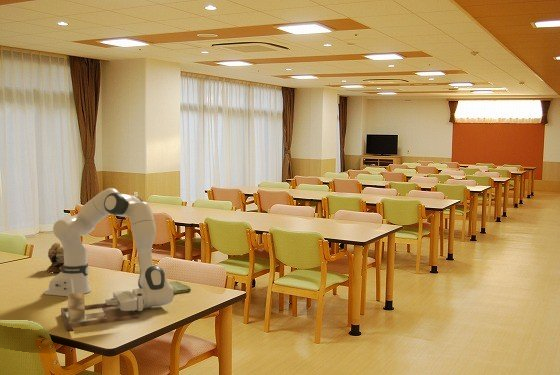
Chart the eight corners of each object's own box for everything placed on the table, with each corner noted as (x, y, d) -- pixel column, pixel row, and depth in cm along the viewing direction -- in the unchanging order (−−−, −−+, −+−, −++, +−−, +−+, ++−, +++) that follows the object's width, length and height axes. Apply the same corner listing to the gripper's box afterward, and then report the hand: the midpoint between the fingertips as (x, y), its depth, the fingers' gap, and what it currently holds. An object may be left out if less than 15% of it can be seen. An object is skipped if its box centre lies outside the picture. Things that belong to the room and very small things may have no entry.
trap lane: (127, 306, 267) (127, 300, 266) (138, 321, 245) (138, 314, 245) (61, 314, 254) (61, 308, 254) (67, 331, 232) (66, 324, 232)
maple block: (83, 314, 249) (82, 292, 248) (84, 318, 244) (84, 295, 243) (68, 316, 246) (67, 293, 245) (69, 320, 241) (69, 297, 240)
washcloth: (169, 296, 286) (169, 290, 285) (154, 288, 300) (154, 282, 299) (192, 292, 293) (192, 286, 293) (177, 285, 307) (176, 279, 307)
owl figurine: (75, 272, 334) (74, 243, 332) (55, 275, 325) (54, 245, 324) (62, 266, 346) (61, 238, 345) (42, 269, 338) (41, 241, 336)
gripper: (132, 286, 265) (101, 289, 259) (142, 297, 247) (109, 301, 241) (133, 299, 266) (102, 303, 260) (142, 311, 247) (110, 316, 241)
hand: (105, 302), depth 250 cm, fingers closed
